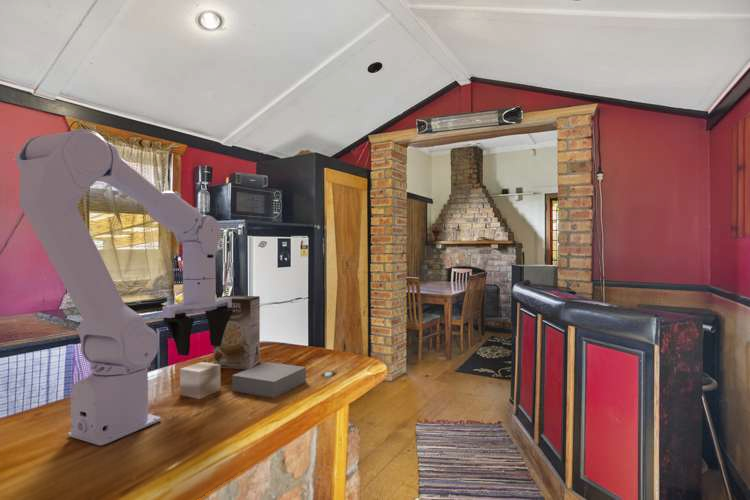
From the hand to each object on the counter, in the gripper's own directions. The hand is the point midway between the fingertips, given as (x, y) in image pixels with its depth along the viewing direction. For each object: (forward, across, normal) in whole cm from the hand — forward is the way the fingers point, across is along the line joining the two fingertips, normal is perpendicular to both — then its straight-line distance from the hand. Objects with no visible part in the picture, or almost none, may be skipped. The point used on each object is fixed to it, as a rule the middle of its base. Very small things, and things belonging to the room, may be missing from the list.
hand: (200, 350), depth 78 cm
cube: (+8, 0, 0) cm, 8 cm away
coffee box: (+8, -17, -7) cm, 20 cm away
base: (+8, -8, +10) cm, 15 cm away
